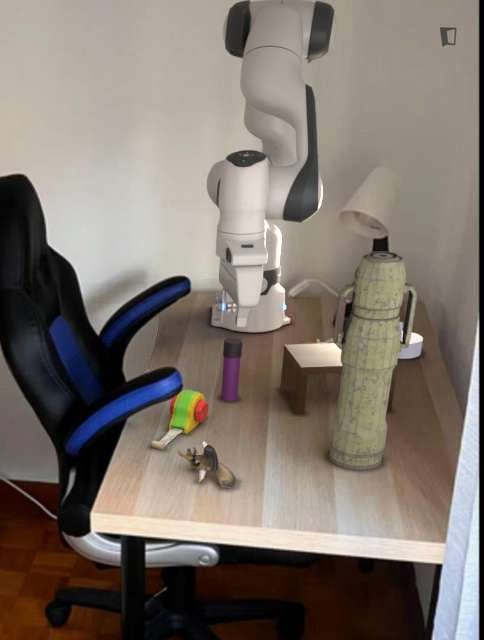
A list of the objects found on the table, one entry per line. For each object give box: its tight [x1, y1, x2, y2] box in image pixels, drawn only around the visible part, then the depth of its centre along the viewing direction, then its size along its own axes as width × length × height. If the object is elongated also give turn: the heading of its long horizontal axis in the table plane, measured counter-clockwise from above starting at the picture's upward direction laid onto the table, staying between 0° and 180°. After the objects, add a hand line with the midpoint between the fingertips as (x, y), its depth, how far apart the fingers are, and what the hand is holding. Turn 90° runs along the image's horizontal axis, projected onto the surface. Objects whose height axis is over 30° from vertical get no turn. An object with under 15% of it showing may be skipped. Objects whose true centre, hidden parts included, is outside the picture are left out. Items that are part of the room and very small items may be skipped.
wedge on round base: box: [398, 321, 424, 360], centre depth 213 cm, size 9×7×13 cm
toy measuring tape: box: [150, 389, 209, 450], centre depth 178 cm, size 6×20×7 cm, turn 147°
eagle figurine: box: [176, 441, 237, 489], centre depth 161 cm, size 8×7×9 cm
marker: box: [220, 337, 244, 403], centre depth 190 cm, size 4×4×12 cm
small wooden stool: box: [279, 342, 399, 415], centre depth 188 cm, size 13×18×10 cm
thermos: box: [328, 250, 419, 471], centre depth 159 cm, size 9×12×35 cm
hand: (235, 318), depth 185 cm, fingers open, 8 cm apart
